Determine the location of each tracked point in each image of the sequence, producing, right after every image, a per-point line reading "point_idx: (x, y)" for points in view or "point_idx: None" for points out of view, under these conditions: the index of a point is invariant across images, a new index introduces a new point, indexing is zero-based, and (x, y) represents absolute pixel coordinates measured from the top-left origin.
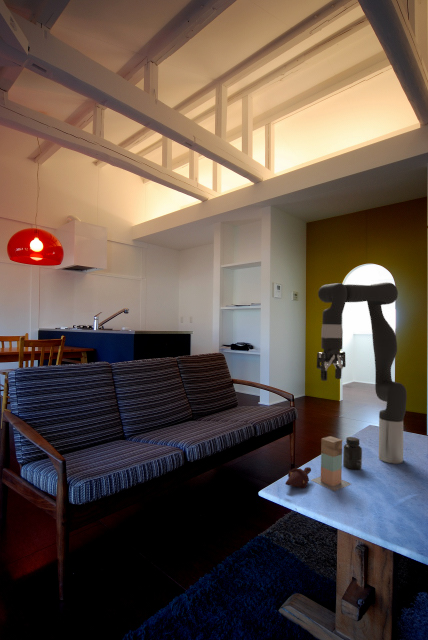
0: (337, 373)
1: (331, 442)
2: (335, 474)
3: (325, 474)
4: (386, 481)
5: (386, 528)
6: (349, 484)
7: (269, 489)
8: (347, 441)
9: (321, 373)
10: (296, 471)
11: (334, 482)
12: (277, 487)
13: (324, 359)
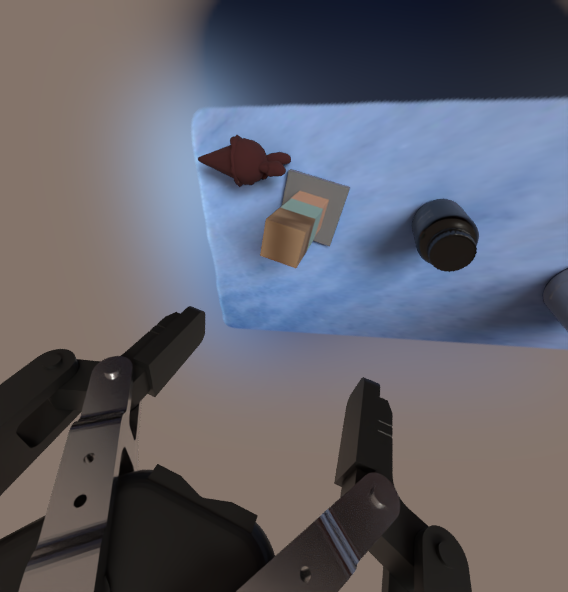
0: (350, 427)
1: (261, 249)
2: None
3: None
4: (400, 291)
5: (244, 300)
6: (323, 243)
7: (204, 112)
8: (436, 237)
9: (141, 343)
10: (230, 162)
11: None
12: (223, 120)
13: (2, 491)
